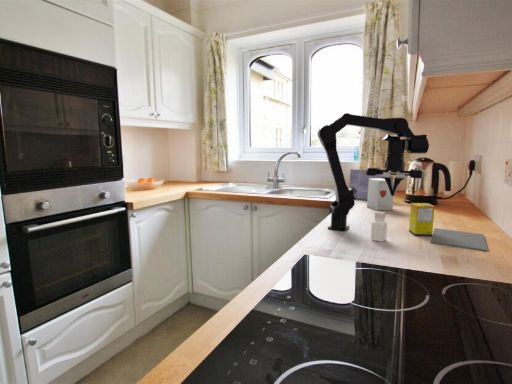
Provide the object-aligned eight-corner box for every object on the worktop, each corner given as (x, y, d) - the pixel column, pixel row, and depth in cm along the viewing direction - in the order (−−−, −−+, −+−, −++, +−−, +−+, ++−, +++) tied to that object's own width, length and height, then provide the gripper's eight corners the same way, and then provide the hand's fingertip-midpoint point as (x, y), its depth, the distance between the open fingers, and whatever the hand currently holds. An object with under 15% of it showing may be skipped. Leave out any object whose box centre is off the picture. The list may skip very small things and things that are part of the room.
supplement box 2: (377, 210, 152) (378, 180, 150) (366, 207, 161) (368, 178, 159) (393, 209, 154) (395, 179, 152) (381, 206, 163) (383, 177, 161)
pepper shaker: (386, 240, 105) (388, 212, 104) (381, 242, 103) (383, 214, 101) (375, 237, 108) (376, 210, 107) (370, 240, 105) (371, 212, 104)
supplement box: (425, 232, 115) (427, 202, 114) (432, 236, 109) (435, 206, 108) (408, 231, 116) (410, 202, 114) (414, 236, 110) (417, 205, 108)
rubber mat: (487, 251, 94) (487, 249, 94) (430, 243, 102) (430, 241, 102) (483, 235, 111) (483, 234, 111) (434, 229, 119) (434, 228, 119)
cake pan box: (383, 200, 182) (385, 169, 179) (381, 201, 178) (383, 170, 175) (350, 197, 192) (351, 168, 189) (347, 198, 188) (349, 168, 185)
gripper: (426, 153, 115) (423, 195, 118) (373, 152, 125) (371, 191, 128) (423, 154, 106) (419, 199, 109) (367, 153, 116) (364, 194, 119)
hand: (392, 195), depth 116 cm, fingers closed
